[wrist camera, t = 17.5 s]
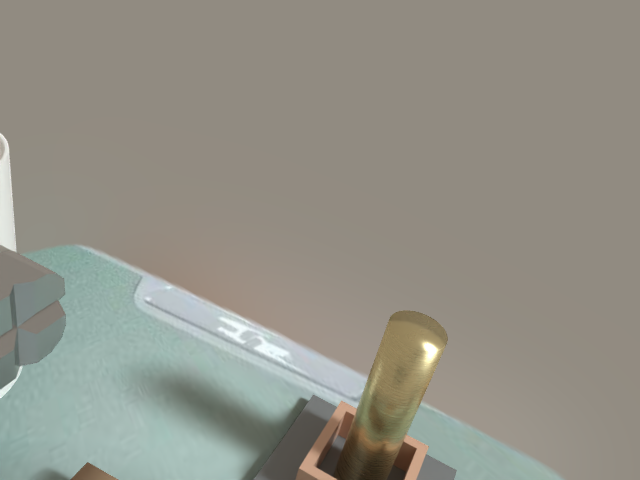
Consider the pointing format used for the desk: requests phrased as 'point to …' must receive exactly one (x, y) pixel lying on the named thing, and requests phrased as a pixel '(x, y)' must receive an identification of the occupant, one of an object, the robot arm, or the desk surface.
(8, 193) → the canister
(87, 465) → the wooden block with recess
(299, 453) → the stand
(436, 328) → the axle
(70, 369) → the desk surface
